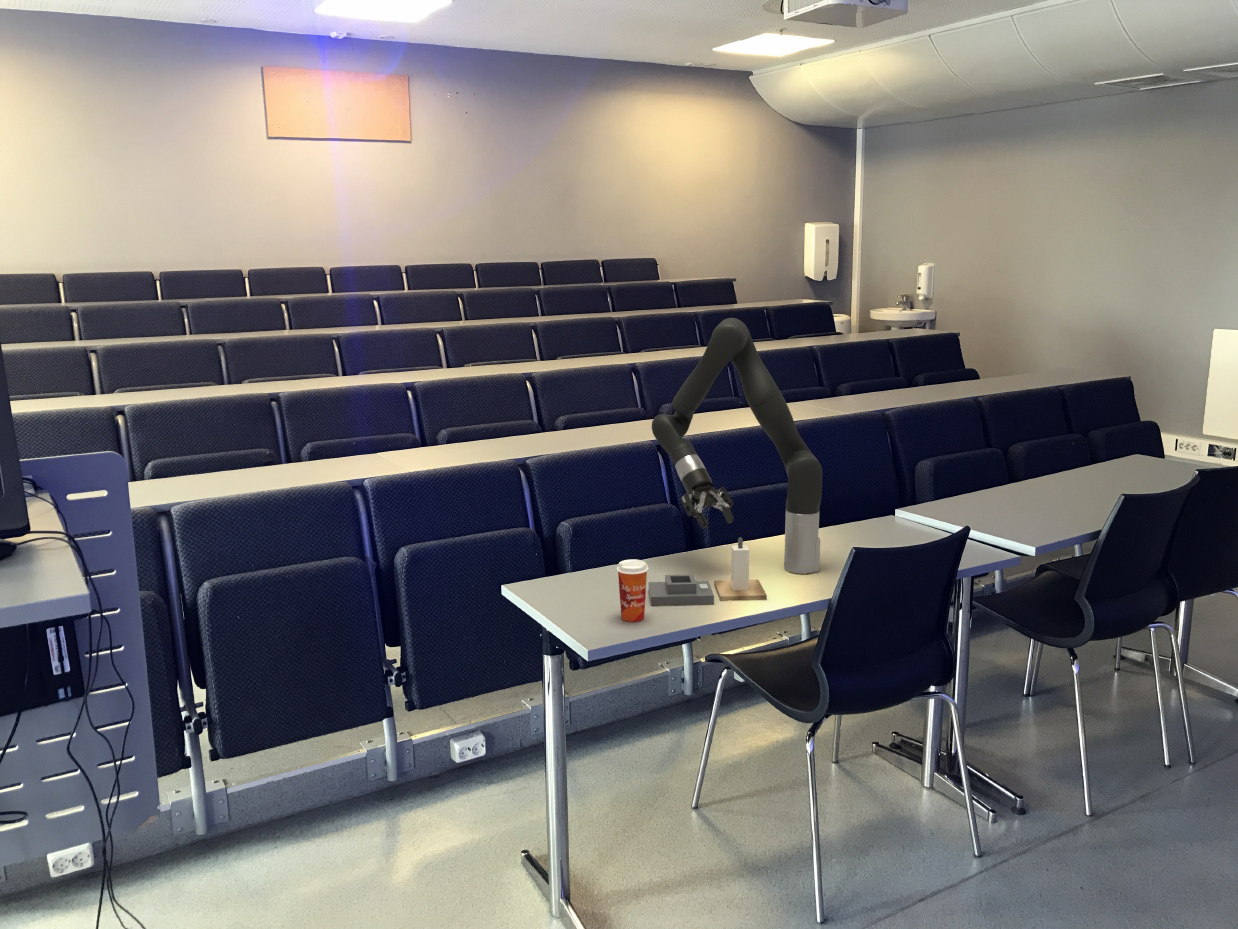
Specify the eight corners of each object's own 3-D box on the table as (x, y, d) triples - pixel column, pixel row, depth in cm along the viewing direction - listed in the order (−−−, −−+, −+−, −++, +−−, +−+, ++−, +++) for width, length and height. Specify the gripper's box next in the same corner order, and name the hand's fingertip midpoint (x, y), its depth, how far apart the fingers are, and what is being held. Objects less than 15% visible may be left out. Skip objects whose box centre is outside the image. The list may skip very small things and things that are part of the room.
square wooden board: (758, 583, 252) (758, 579, 252) (766, 599, 240) (766, 595, 240) (714, 584, 252) (714, 580, 251) (720, 600, 240) (720, 596, 240)
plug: (745, 584, 248) (746, 535, 245) (748, 590, 244) (749, 539, 241) (730, 585, 248) (731, 535, 244) (733, 590, 244) (734, 540, 241)
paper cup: (620, 625, 225) (620, 570, 222) (614, 613, 232) (613, 560, 229) (652, 622, 226) (651, 567, 223) (645, 610, 234) (644, 557, 231)
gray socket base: (708, 589, 248) (708, 571, 247) (713, 604, 237) (714, 586, 236) (648, 590, 248) (648, 572, 246) (651, 606, 237) (651, 587, 236)
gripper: (678, 470, 250) (703, 521, 244) (719, 463, 258) (745, 513, 251) (666, 485, 256) (691, 535, 249) (708, 478, 263) (733, 527, 256)
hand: (718, 524), depth 250 cm, fingers open, 8 cm apart
